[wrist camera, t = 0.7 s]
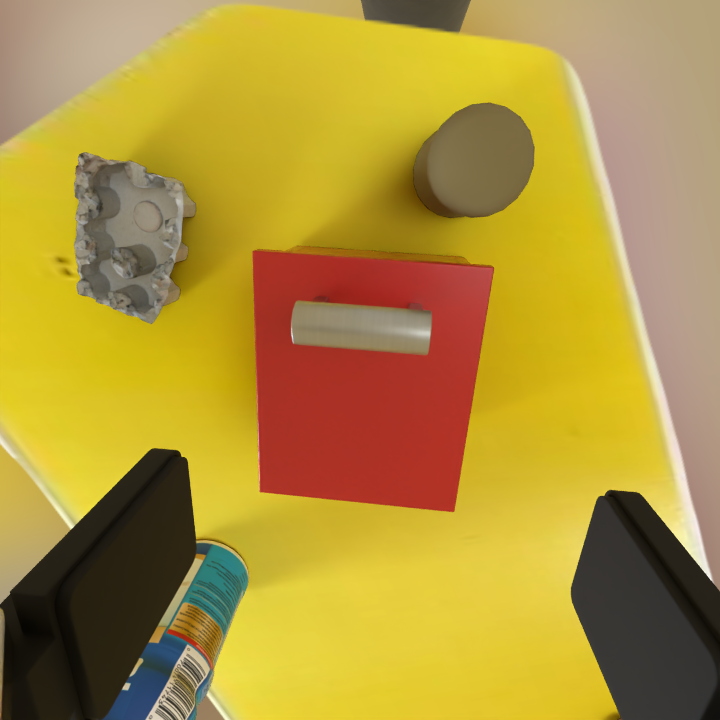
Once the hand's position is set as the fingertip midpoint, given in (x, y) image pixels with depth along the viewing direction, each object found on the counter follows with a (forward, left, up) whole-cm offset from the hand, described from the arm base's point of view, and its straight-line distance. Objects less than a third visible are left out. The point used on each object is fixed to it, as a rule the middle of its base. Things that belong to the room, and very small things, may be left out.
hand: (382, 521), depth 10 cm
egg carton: (-3, -19, -26) cm, 32 cm away
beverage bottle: (+30, -16, -26) cm, 43 cm away
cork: (-9, +4, -26) cm, 27 cm away
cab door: (+4, -1, -16) cm, 16 cm away
